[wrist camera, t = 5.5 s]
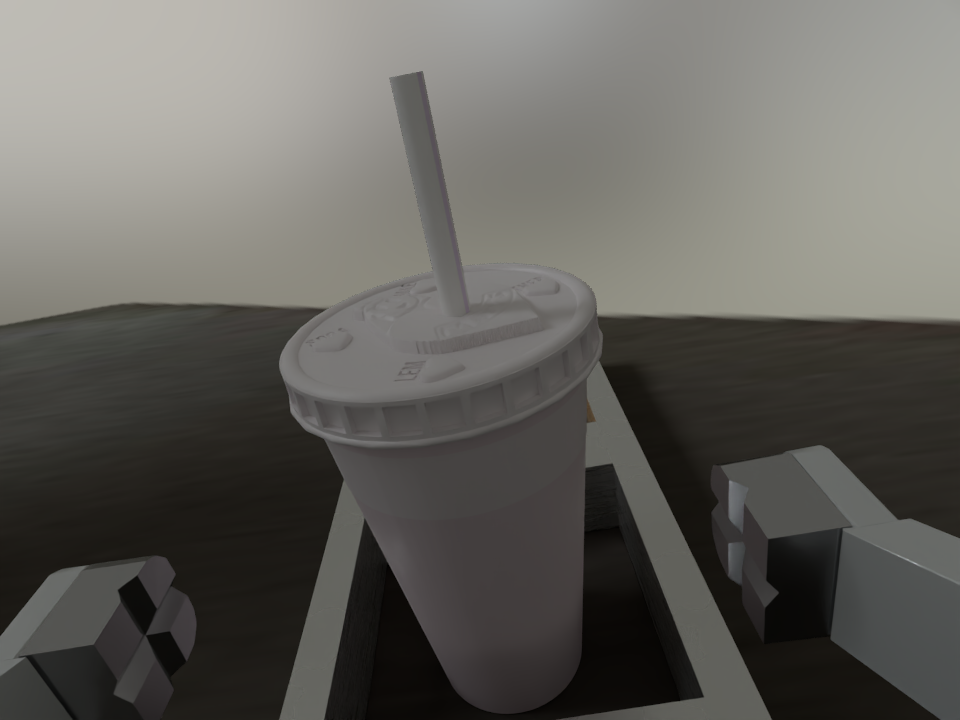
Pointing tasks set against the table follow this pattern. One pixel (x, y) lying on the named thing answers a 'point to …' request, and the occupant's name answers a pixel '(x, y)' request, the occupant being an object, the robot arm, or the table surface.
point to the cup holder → (608, 503)
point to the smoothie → (464, 441)
